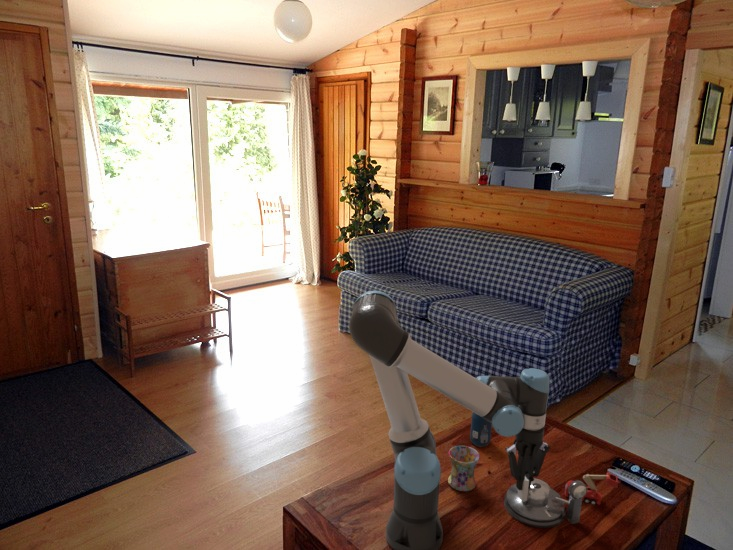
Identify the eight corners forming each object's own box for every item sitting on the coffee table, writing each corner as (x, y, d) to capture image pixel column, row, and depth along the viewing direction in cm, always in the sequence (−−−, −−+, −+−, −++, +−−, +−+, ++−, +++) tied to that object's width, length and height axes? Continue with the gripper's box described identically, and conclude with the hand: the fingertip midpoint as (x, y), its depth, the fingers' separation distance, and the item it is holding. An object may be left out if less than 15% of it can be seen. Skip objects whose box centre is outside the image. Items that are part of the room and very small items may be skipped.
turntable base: (523, 532, 151) (523, 528, 150) (493, 493, 166) (494, 489, 166) (577, 522, 155) (578, 518, 155) (543, 485, 171) (544, 481, 170)
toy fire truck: (564, 491, 168) (568, 463, 166) (613, 503, 163) (618, 474, 161) (563, 497, 165) (567, 469, 163) (613, 510, 160) (618, 481, 158)
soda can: (477, 434, 198) (480, 404, 195) (494, 442, 193) (497, 411, 190) (465, 441, 193) (468, 410, 190) (482, 450, 188) (484, 418, 185)
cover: (530, 509, 156) (532, 495, 154) (518, 493, 162) (519, 480, 161) (552, 505, 157) (554, 491, 156) (539, 490, 164) (541, 476, 163)
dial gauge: (563, 526, 153) (568, 486, 150) (552, 513, 158) (557, 475, 155) (582, 522, 155) (588, 483, 152) (571, 510, 160) (577, 472, 156)
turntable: (524, 526, 151) (526, 509, 149) (496, 490, 166) (498, 474, 164) (575, 517, 155) (578, 500, 153) (543, 482, 170) (545, 467, 168)
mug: (481, 492, 167) (484, 461, 164) (452, 495, 165) (454, 464, 162) (467, 469, 178) (470, 439, 175) (440, 471, 176) (442, 441, 174)
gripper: (516, 434, 147) (508, 510, 153) (559, 428, 150) (549, 503, 157) (502, 419, 154) (495, 493, 160) (543, 414, 157) (535, 486, 164)
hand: (522, 497), depth 158 cm, fingers closed
